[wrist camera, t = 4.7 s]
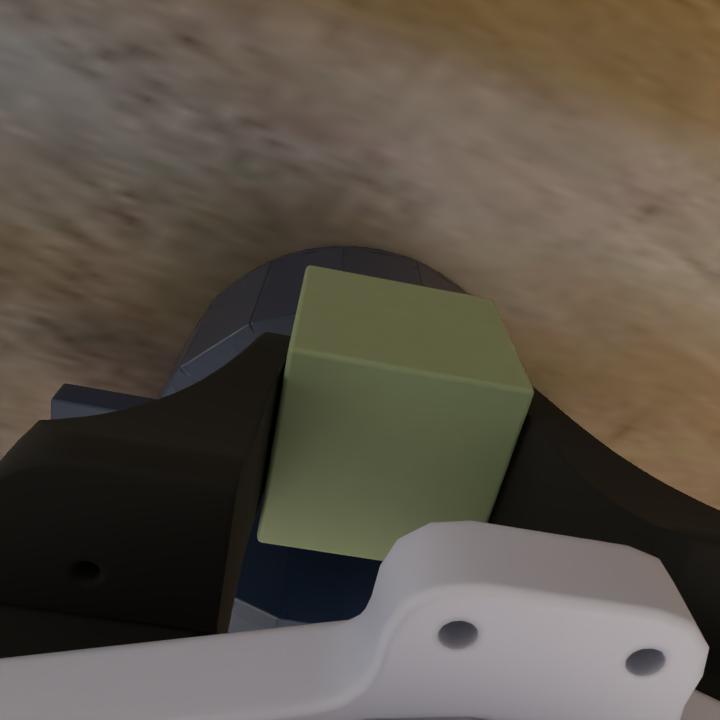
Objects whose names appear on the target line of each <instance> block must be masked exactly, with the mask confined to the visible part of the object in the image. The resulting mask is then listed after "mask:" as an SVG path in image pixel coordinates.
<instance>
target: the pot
mask: <svg viewBox="0 0 720 720" xmlns="http://www.w3.org/2000/svg"><path fill="white" fill-rule="evenodd" d="M310 265H312V266H317V267H322V268H328V269H333V270H338V271H344V272H349V273H354V274H360V275H365V276H370V277H376V278H381V279H386V280H392V281H397V282H402V283H408V284H413V285H418V286H424V287H429V288H434V289H439V290H445V291H450V292H455V293H461V294H466V293H465V292H464V291H463V290H462V289H461V288H460V287H458V286H457V285H456V284H454V283H453V282H452V281H450V280H449V279H448V278H447V277H445V276H444V275H442V274H440V273H438V272H437V271H435V270H433V269H431V268H430V267H428V266H426V265H424V264H422V263H419V262H417V261H414V260H412V259H410V258H407V257H405V256H402V255H398V254H394V253H390V252H387V251H383V250H378V249H370V248H363V247H334V246H333V247H324V248H316V249H308V250H304V251H301V252H297V253H293V254H289V255H285V256H283V257H280V258H278V259H275V260H273V261H270V262H268V263H265V264H263V265H261V266H260V267H258V268H256V269H254V270H253V271H251V272H249V273H247V274H245V275H244V276H243V277H241V278H240V279H239V280H237V281H236V282H235V283H233V284H232V285H231V286H230V287H228V288H227V289H226V290H225V291H224V292H223V293H221V294H220V295H218V296H217V297H216V298H215V299H214V300H213V301H212V303H211V304H210V306H209V308H208V309H207V311H206V312H205V314H204V316H203V317H202V318H201V320H200V321H199V323H198V325H197V327H196V328H195V330H194V332H193V333H192V335H191V336H190V338H189V340H188V341H187V343H186V344H185V346H184V348H183V349H182V351H181V353H180V355H179V357H178V359H177V361H176V362H175V364H174V366H173V368H172V370H171V372H170V374H169V375H168V377H167V379H166V381H165V383H164V385H163V387H162V389H161V390H160V392H159V394H158V396H157V398H156V399H159V398H162V397H165V396H168V395H171V394H173V393H176V392H178V391H180V390H182V389H185V388H187V387H189V386H191V385H193V384H195V383H197V382H199V381H201V380H202V379H204V378H205V377H207V376H208V375H210V374H211V373H213V372H215V371H216V370H218V369H219V368H221V367H222V366H224V365H225V364H226V363H227V362H229V361H230V360H231V359H233V358H234V357H235V356H237V355H238V354H239V353H240V352H242V351H243V350H244V349H245V348H246V347H247V346H249V345H250V344H251V343H252V342H253V341H254V340H255V339H256V338H257V337H258V336H259V335H261V334H263V333H264V332H271V333H277V334H282V335H288V336H291V334H292V330H293V325H294V320H295V316H296V311H297V307H298V302H299V297H300V293H301V288H302V283H303V279H304V274H305V270H306V268H307V266H310ZM466 295H467V294H466ZM156 399H151V398H146V397H140V396H134V395H129V394H123V393H117V392H112V391H106V390H100V389H95V388H89V387H83V386H78V385H72V384H63V385H62V387H61V388H60V389H59V390H58V392H57V393H56V394H55V395H54V397H53V398H52V399H51V420H53V419H63V418H74V417H84V416H91V415H98V414H103V413H108V412H114V411H118V410H123V409H127V408H131V407H135V406H138V405H141V404H144V403H147V402H150V401H153V400H156ZM264 491H265V490H264ZM263 497H264V493H263V496H262V500H261V503H260V506H259V509H258V512H257V515H256V518H255V521H254V524H253V527H252V530H251V533H250V537H249V540H248V543H247V546H246V550H245V554H244V557H243V561H242V565H241V570H240V575H239V580H238V585H237V589H236V594H235V599H234V604H233V609H232V614H234V615H236V616H238V617H240V618H242V619H244V620H247V621H249V622H251V623H253V624H255V625H257V626H259V627H261V628H264V629H270V628H279V627H288V626H297V625H306V624H315V623H324V622H333V621H342V620H349V619H352V618H354V617H356V616H358V615H360V614H361V613H362V612H363V611H364V610H365V609H366V607H367V605H368V602H369V600H370V598H371V596H372V593H373V589H374V585H375V582H376V578H377V575H378V571H379V567H380V565H381V563H382V562H383V561H380V560H373V559H367V558H360V557H353V556H347V555H340V554H334V553H327V552H321V551H314V550H307V549H301V548H294V547H288V546H281V545H275V544H268V543H262V542H259V541H258V538H257V532H258V526H259V520H260V514H261V508H262V503H263Z"/></svg>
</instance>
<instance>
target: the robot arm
mask: <svg viewBox="0 0 720 720" xmlns="http://www.w3.org/2000/svg"><path fill="white" fill-rule="evenodd" d="M290 339H291V336H288V335H282V334H277V333H271V332H264V333H263V334H261V335H259V336H258V337H257V338H256V339H255V340H254V341H253V342H252V343H251V344H250V345H249V346H247V347H246V348H245V349H244V350H243V351H242V352H240V353H239V354H238V355H237V356H235V357H234V358H233V359H231V360H230V361H229V362H227V363H226V364H225V365H224V366H222V367H221V368H219V369H218V370H216V371H215V372H213V373H211V374H210V375H208V376H207V377H205V378H204V379H202V380H201V381H199V382H197V383H195V384H193V385H191V386H189V387H187V388H185V389H182V390H180V391H178V392H176V393H173V394H171V395H168V396H165V397H162V398H159V399H156V400H153V401H150V402H147V403H144V404H141V405H138V406H135V407H131V408H127V409H123V410H118V411H114V412H108V413H103V414H98V415H91V416H84V417H74V418H63V419H53V420H39V421H38V422H37V423H36V424H35V425H34V426H33V427H32V428H31V429H30V430H29V431H28V432H27V433H26V434H25V435H24V436H22V437H21V438H20V439H19V440H18V441H17V443H16V444H15V445H14V446H13V447H12V448H11V449H10V450H9V451H8V452H7V454H6V455H5V456H4V457H3V459H2V460H1V461H0V720H720V510H717V509H715V508H713V507H711V506H709V505H706V504H704V503H702V502H700V501H698V500H696V499H694V498H692V497H690V496H688V495H686V494H684V493H682V492H680V491H678V490H676V489H674V488H672V487H670V486H669V485H667V484H665V483H663V482H661V481H660V480H658V479H656V478H654V477H653V476H651V475H649V474H648V473H646V472H644V471H643V470H641V469H640V468H638V467H636V466H635V465H633V464H632V463H630V462H628V461H627V460H625V459H624V458H622V457H621V456H619V455H618V454H616V453H615V452H614V451H612V450H611V449H609V448H608V447H607V446H605V445H604V444H603V443H601V442H600V441H599V440H597V439H596V438H595V437H593V436H592V435H591V434H589V433H588V432H587V431H586V430H584V429H583V428H582V427H581V426H579V425H578V424H577V423H576V422H574V421H573V420H572V419H571V418H570V417H568V416H567V415H566V414H565V413H564V412H562V411H561V410H560V409H559V408H558V407H556V406H555V405H554V404H553V403H552V402H551V401H549V400H548V399H547V398H546V397H545V396H544V395H542V394H541V393H540V392H539V391H537V390H536V389H535V388H534V387H533V386H532V388H533V390H534V395H533V398H532V401H531V403H530V406H529V409H528V412H527V415H526V417H525V420H524V423H523V426H522V429H521V431H520V434H519V437H518V440H517V442H516V445H515V448H514V451H513V454H512V456H511V459H510V462H509V465H508V468H507V470H506V473H505V476H504V479H503V482H502V484H501V487H500V490H499V493H498V496H497V498H496V501H495V504H494V507H493V509H492V512H491V515H490V518H489V521H488V523H483V522H477V521H471V520H468V521H448V522H431V523H429V524H427V525H425V526H423V527H421V528H419V529H417V530H415V531H413V532H411V533H409V534H407V535H405V536H403V537H401V538H399V539H397V541H396V542H395V544H394V545H393V547H392V548H391V550H390V551H389V553H388V554H387V556H386V557H385V559H384V560H383V562H382V563H381V565H380V567H379V571H378V575H377V578H376V582H375V585H374V589H373V593H372V596H371V598H370V600H369V602H368V605H367V607H366V609H365V610H364V611H363V612H362V613H361V614H360V615H358V616H356V617H354V618H352V619H349V620H342V621H333V622H324V623H315V624H306V625H297V626H288V627H279V628H270V629H261V630H252V631H243V632H234V633H228V629H229V624H230V619H231V614H232V609H233V604H234V599H235V594H236V589H237V585H238V580H239V575H240V570H241V565H242V561H243V557H244V554H245V550H246V546H247V543H248V540H249V537H250V533H251V530H252V527H253V524H254V521H255V518H256V515H257V512H258V509H259V506H260V503H261V500H262V496H263V493H264V490H265V485H266V479H267V473H268V467H269V461H270V455H271V449H272V443H273V437H274V431H275V425H276V419H277V413H278V407H279V401H280V395H281V389H282V383H283V377H284V371H285V365H286V359H287V353H288V348H289V343H290Z"/></svg>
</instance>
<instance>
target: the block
mask: <svg viewBox="0 0 720 720" xmlns="http://www.w3.org/2000/svg"><path fill="white" fill-rule="evenodd" d="M533 395H534V390H533V388H532V386H531V383H530V381H529V379H528V377H527V374H526V372H525V370H524V368H523V366H522V363H521V361H520V359H519V357H518V355H517V352H516V350H515V348H514V346H513V344H512V341H511V339H510V337H509V335H508V332H507V330H506V328H505V326H504V324H503V321H502V319H501V317H500V315H499V313H498V310H497V308H496V306H495V304H494V301H493V300H491V299H487V298H482V297H477V296H471V295H466V294H461V293H455V292H450V291H445V290H439V289H434V288H429V287H424V286H418V285H413V284H408V283H402V282H397V281H392V280H386V279H381V278H376V277H370V276H365V275H360V274H354V273H349V272H344V271H338V270H333V269H328V268H322V267H317V266H312V265H310V266H307V268H306V270H305V274H304V279H303V283H302V288H301V293H300V297H299V302H298V307H297V311H296V316H295V320H294V325H293V330H292V334H291V339H290V343H289V348H288V353H287V359H286V365H285V371H284V377H283V383H282V389H281V395H280V401H279V407H278V413H277V419H276V425H275V431H274V437H273V443H272V449H271V455H270V461H269V467H268V473H267V479H266V485H265V491H264V497H263V503H262V508H261V514H260V520H259V526H258V532H257V538H258V541H259V542H262V543H268V544H275V545H281V546H288V547H294V548H301V549H307V550H314V551H321V552H327V553H334V554H340V555H347V556H353V557H360V558H367V559H373V560H380V561H383V560H384V559H385V557H386V556H387V554H388V553H389V551H390V550H391V548H392V547H393V545H394V544H395V542H396V541H397V539H399V538H401V537H403V536H405V535H407V534H409V533H411V532H413V531H415V530H417V529H419V528H421V527H423V526H425V525H427V524H429V523H431V522H448V521H468V520H471V521H477V522H483V523H488V521H489V518H490V515H491V512H492V509H493V507H494V504H495V501H496V498H497V496H498V493H499V490H500V487H501V484H502V482H503V479H504V476H505V473H506V470H507V468H508V465H509V462H510V459H511V456H512V454H513V451H514V448H515V445H516V442H517V440H518V437H519V434H520V431H521V429H522V426H523V423H524V420H525V417H526V415H527V412H528V409H529V406H530V403H531V401H532V398H533Z"/></svg>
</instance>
